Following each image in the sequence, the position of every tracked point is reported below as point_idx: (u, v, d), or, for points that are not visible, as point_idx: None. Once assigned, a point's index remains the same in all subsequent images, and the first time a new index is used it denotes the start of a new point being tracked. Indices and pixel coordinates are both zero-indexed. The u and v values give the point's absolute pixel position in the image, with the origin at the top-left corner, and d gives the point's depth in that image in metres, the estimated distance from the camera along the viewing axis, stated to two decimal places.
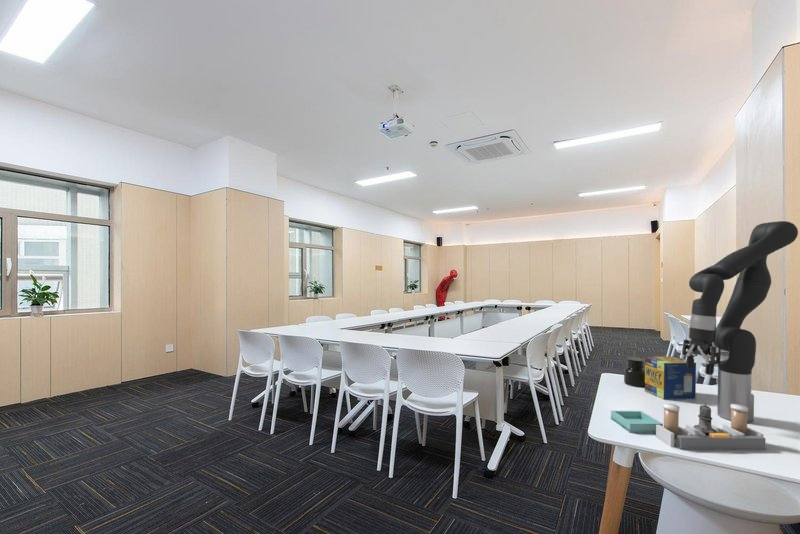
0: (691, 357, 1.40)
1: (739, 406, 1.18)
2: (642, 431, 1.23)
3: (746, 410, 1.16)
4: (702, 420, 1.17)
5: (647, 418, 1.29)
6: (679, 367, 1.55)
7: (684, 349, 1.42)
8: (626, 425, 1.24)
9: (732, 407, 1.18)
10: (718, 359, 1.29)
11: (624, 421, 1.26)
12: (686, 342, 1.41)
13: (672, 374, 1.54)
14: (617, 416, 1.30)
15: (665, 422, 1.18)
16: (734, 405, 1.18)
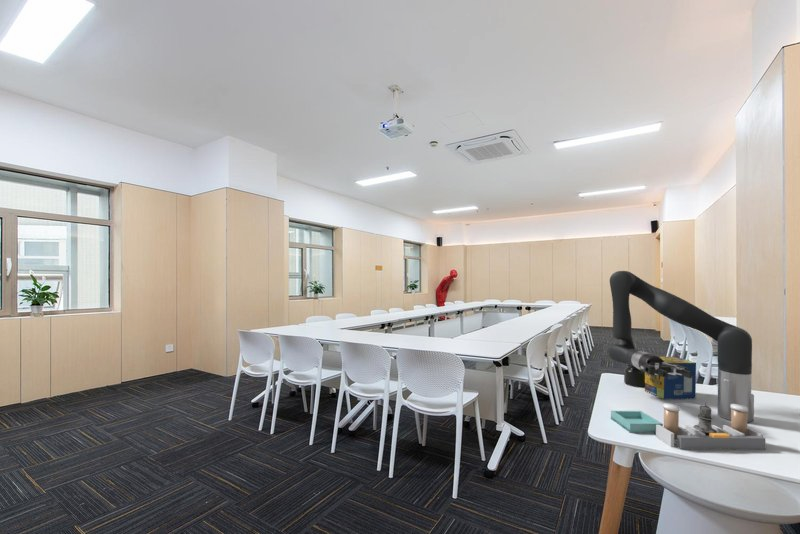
0: (681, 371, 1.33)
1: (739, 406, 1.18)
2: (642, 431, 1.23)
3: (746, 410, 1.16)
4: (702, 420, 1.17)
5: (647, 418, 1.29)
6: None
7: None
8: (626, 425, 1.24)
9: (732, 407, 1.18)
10: (647, 367, 1.35)
11: (624, 421, 1.26)
12: None
13: None
14: (617, 416, 1.30)
15: (665, 422, 1.18)
16: (734, 405, 1.18)
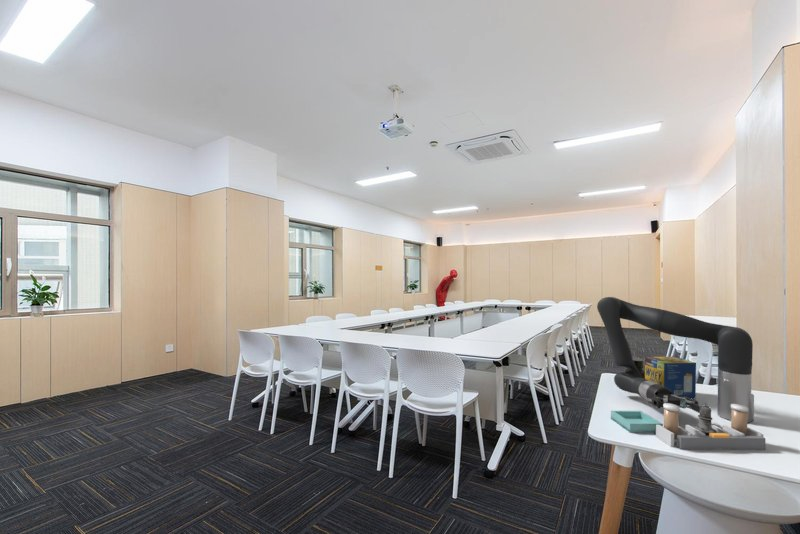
0: (690, 405, 1.28)
1: (739, 406, 1.18)
2: (642, 431, 1.23)
3: (746, 410, 1.16)
4: (702, 420, 1.17)
5: (647, 418, 1.29)
6: (679, 367, 1.55)
7: None
8: (626, 425, 1.24)
9: (732, 407, 1.18)
10: None
11: (624, 421, 1.26)
12: None
13: (672, 374, 1.54)
14: (617, 416, 1.30)
15: (665, 422, 1.18)
16: (734, 405, 1.18)
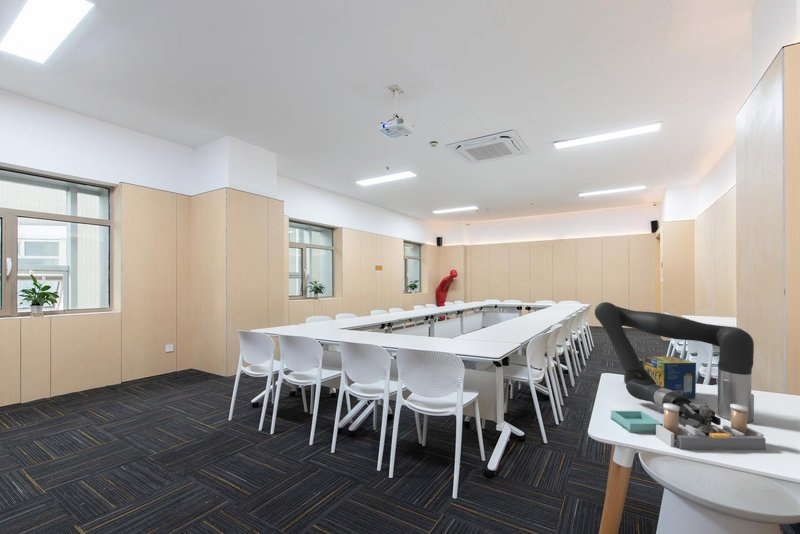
0: None
1: (739, 406, 1.18)
2: (642, 431, 1.23)
3: (746, 410, 1.16)
4: None
5: (647, 418, 1.29)
6: (679, 367, 1.55)
7: None
8: (626, 425, 1.24)
9: (732, 407, 1.18)
10: (682, 411, 1.21)
11: (624, 421, 1.26)
12: None
13: (672, 374, 1.54)
14: (617, 416, 1.30)
15: (665, 422, 1.18)
16: (734, 405, 1.19)
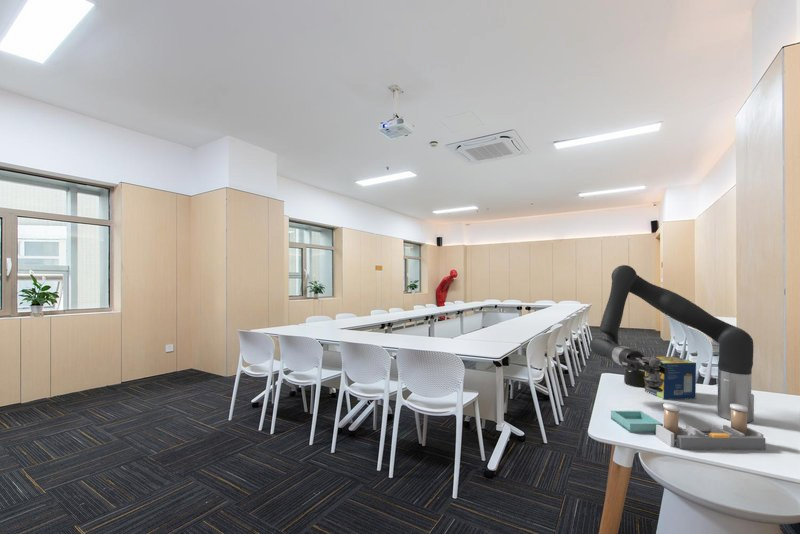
0: None
1: (738, 406, 1.18)
2: (642, 431, 1.23)
3: (745, 410, 1.16)
4: None
5: (647, 418, 1.29)
6: (679, 367, 1.55)
7: None
8: (626, 425, 1.24)
9: (731, 407, 1.18)
10: (633, 363, 1.28)
11: (624, 421, 1.26)
12: None
13: (672, 374, 1.54)
14: (617, 416, 1.30)
15: (665, 422, 1.18)
16: (733, 405, 1.19)
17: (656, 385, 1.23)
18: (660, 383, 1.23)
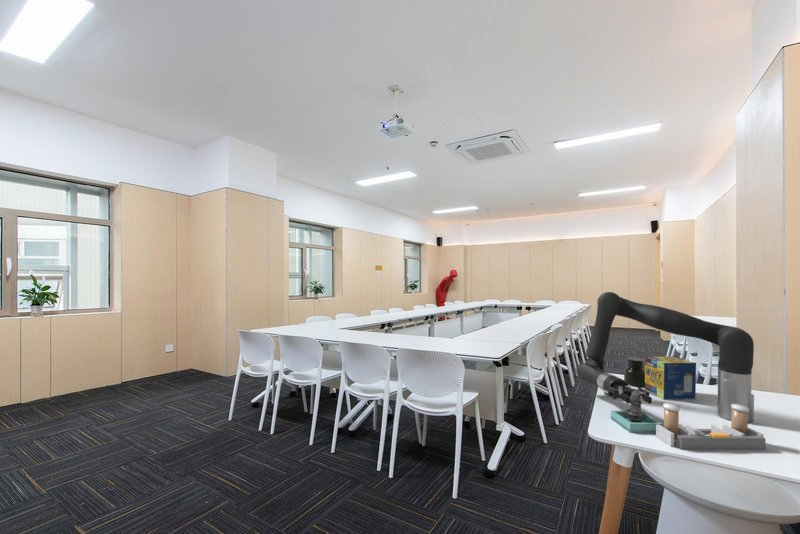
0: (642, 396, 1.30)
1: (740, 406, 1.17)
2: (642, 431, 1.23)
3: (747, 410, 1.16)
4: (632, 404, 1.28)
5: (647, 418, 1.29)
6: (679, 367, 1.55)
7: None
8: (626, 425, 1.24)
9: (732, 407, 1.18)
10: None
11: (624, 421, 1.26)
12: None
13: (672, 374, 1.54)
14: (617, 416, 1.30)
15: (665, 422, 1.18)
16: (735, 405, 1.18)
17: (638, 419, 1.26)
18: (641, 417, 1.26)
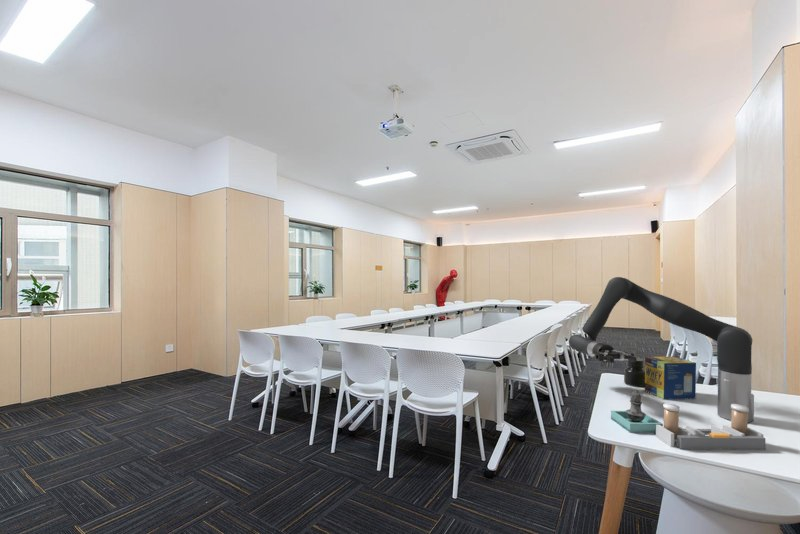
0: (627, 357, 1.44)
1: (739, 406, 1.17)
2: (642, 431, 1.23)
3: (746, 410, 1.16)
4: (632, 404, 1.28)
5: (647, 418, 1.29)
6: (679, 367, 1.55)
7: None
8: (626, 425, 1.24)
9: (732, 407, 1.18)
10: (597, 354, 1.46)
11: (624, 421, 1.26)
12: None
13: (672, 374, 1.54)
14: (617, 416, 1.30)
15: (665, 422, 1.18)
16: (734, 405, 1.18)
17: (638, 419, 1.26)
18: (641, 417, 1.26)
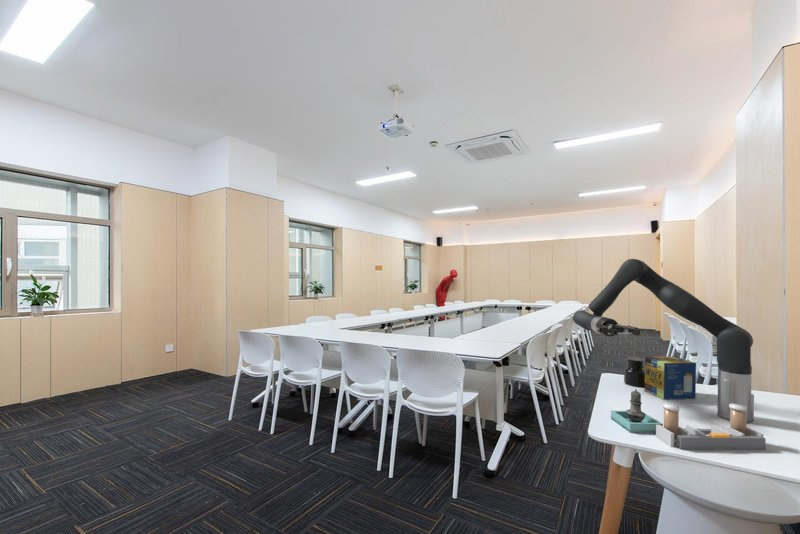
0: (631, 330, 1.46)
1: (738, 406, 1.18)
2: (642, 431, 1.23)
3: (744, 410, 1.16)
4: (632, 404, 1.28)
5: (647, 418, 1.29)
6: (679, 367, 1.55)
7: None
8: (626, 425, 1.24)
9: (730, 407, 1.18)
10: (601, 327, 1.48)
11: (624, 421, 1.26)
12: None
13: (672, 374, 1.54)
14: (617, 416, 1.30)
15: (665, 422, 1.18)
16: (733, 405, 1.19)
17: (638, 419, 1.26)
18: (641, 417, 1.26)
